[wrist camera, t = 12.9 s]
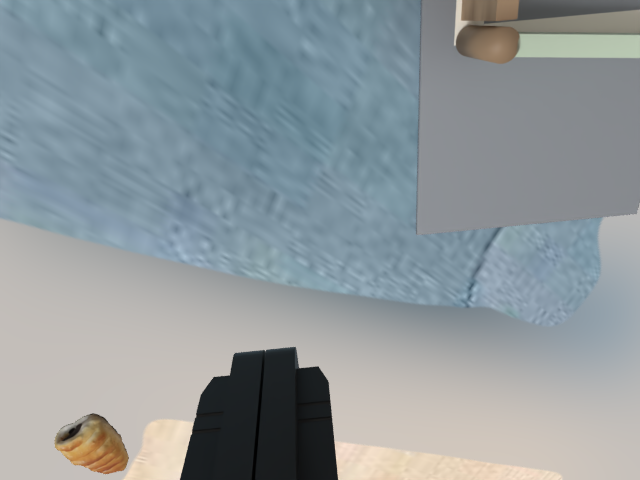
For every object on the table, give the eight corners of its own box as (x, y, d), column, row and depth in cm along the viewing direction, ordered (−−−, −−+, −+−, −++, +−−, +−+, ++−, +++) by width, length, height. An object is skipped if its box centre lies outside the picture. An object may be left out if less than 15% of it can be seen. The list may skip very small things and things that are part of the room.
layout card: (415, 233, 45) (417, 235, 45) (425, -190, 30) (427, -193, 30) (633, 212, 46) (637, 214, 45) (749, -217, 31) (755, -221, 30)
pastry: (144, 450, 58) (135, 477, 55) (104, 467, 60) (93, 495, 56) (96, 407, 54) (83, 433, 51) (54, 427, 56) (38, 453, 52)
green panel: (453, 56, 37) (483, 63, 31) (458, 25, 36) (490, 26, 30) (658, 57, 38) (725, 65, 32) (669, 27, 37) (740, 29, 31)
